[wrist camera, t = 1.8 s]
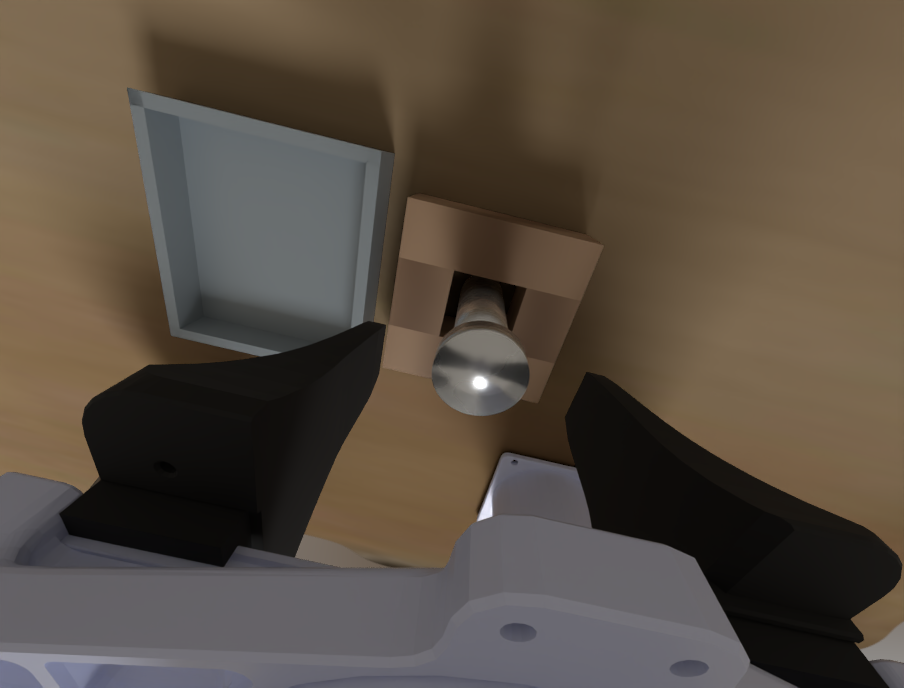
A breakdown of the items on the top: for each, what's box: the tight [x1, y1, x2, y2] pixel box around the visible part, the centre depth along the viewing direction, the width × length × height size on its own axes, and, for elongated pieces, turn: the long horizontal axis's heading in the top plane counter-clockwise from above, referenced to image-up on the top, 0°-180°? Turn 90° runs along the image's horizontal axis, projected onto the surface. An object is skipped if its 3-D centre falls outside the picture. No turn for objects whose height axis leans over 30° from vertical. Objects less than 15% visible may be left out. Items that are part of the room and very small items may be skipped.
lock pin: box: [432, 275, 530, 416], centre depth 16 cm, size 3×3×9 cm
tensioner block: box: [382, 193, 604, 403], centre depth 19 cm, size 9×9×3 cm
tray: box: [127, 88, 395, 356], centre depth 19 cm, size 11×12×2 cm
